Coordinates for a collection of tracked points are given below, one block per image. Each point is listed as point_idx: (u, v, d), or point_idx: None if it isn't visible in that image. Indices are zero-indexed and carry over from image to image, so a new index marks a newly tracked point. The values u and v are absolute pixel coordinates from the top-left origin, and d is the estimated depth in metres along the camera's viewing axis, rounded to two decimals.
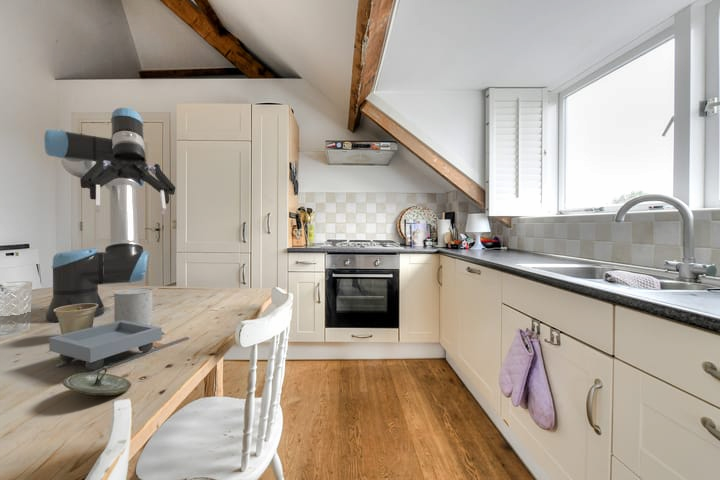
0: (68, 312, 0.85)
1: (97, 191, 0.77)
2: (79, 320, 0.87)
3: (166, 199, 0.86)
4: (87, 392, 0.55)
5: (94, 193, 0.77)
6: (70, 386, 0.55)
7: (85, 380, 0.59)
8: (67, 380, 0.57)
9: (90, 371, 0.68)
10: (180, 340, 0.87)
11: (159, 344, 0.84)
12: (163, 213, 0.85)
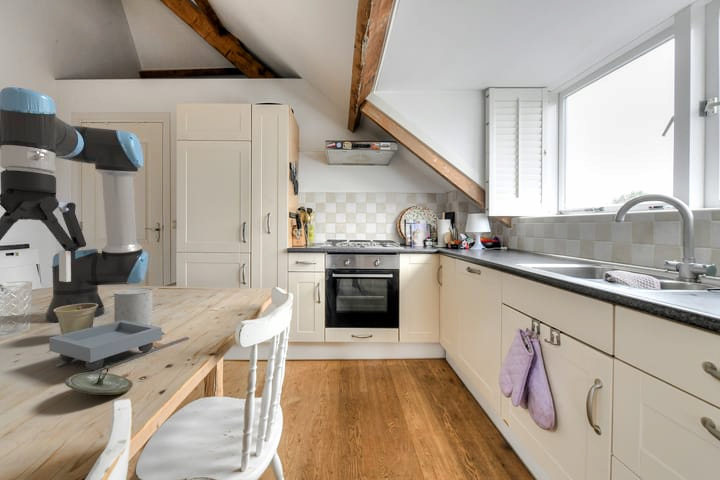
0: (68, 312, 0.85)
1: None
2: (79, 320, 0.87)
3: (71, 263, 0.68)
4: (89, 392, 0.55)
5: None
6: (72, 386, 0.55)
7: (87, 380, 0.60)
8: (69, 380, 0.57)
9: (90, 371, 0.68)
10: (180, 340, 0.87)
11: (159, 344, 0.84)
12: (62, 280, 0.67)
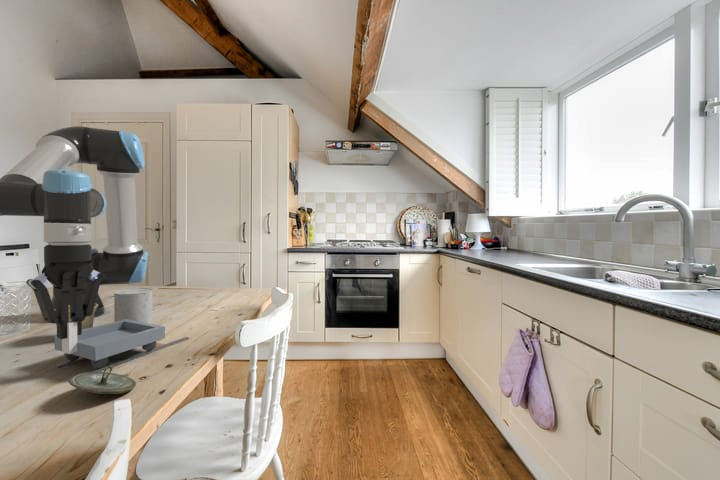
0: None
1: (70, 333, 0.67)
2: None
3: (78, 333, 0.69)
4: (94, 391, 0.55)
5: (65, 335, 0.67)
6: (76, 385, 0.55)
7: (91, 379, 0.60)
8: (73, 379, 0.57)
9: (90, 371, 0.68)
10: (180, 340, 0.87)
11: (159, 344, 0.84)
12: None
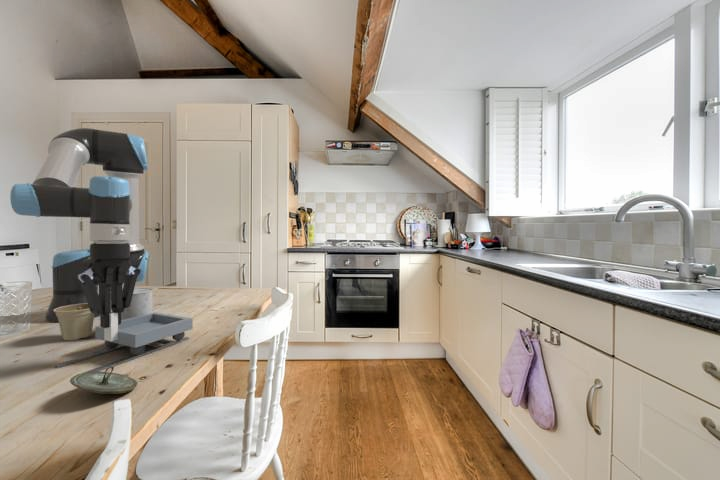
0: (68, 312, 0.85)
1: (112, 323, 0.75)
2: (79, 320, 0.87)
3: (118, 323, 0.77)
4: (95, 390, 0.55)
5: (108, 324, 0.74)
6: (78, 385, 0.55)
7: (92, 379, 0.60)
8: (74, 379, 0.57)
9: (90, 371, 0.68)
10: (180, 340, 0.87)
11: (159, 344, 0.84)
12: None
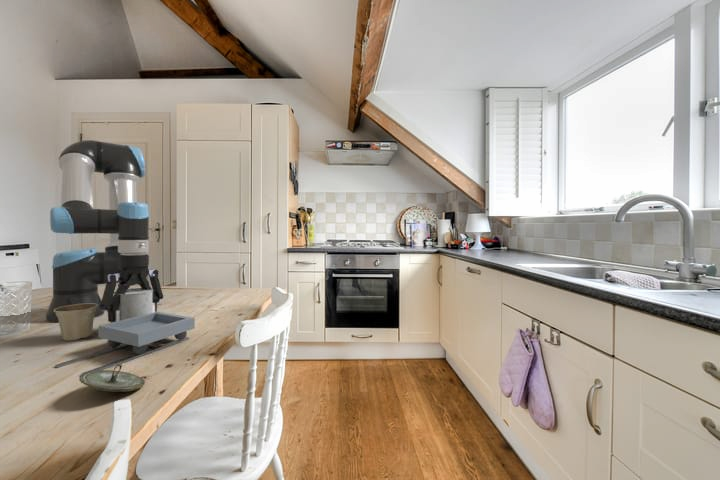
0: (68, 312, 0.85)
1: (118, 318, 0.90)
2: (79, 320, 0.87)
3: (154, 310, 1.00)
4: (105, 388, 0.56)
5: (114, 319, 0.89)
6: (88, 383, 0.56)
7: (100, 378, 0.61)
8: (84, 377, 0.58)
9: (90, 371, 0.68)
10: (180, 340, 0.87)
11: (159, 344, 0.84)
12: None
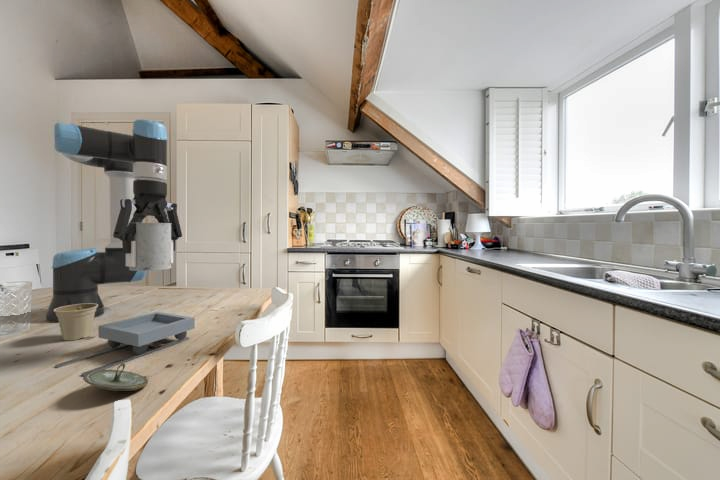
0: (68, 312, 0.85)
1: (133, 249, 0.79)
2: (79, 320, 0.87)
3: (173, 249, 0.89)
4: (109, 388, 0.56)
5: (129, 250, 0.79)
6: (92, 382, 0.56)
7: (104, 377, 0.61)
8: (87, 377, 0.58)
9: (90, 371, 0.68)
10: (180, 340, 0.87)
11: (159, 344, 0.84)
12: None
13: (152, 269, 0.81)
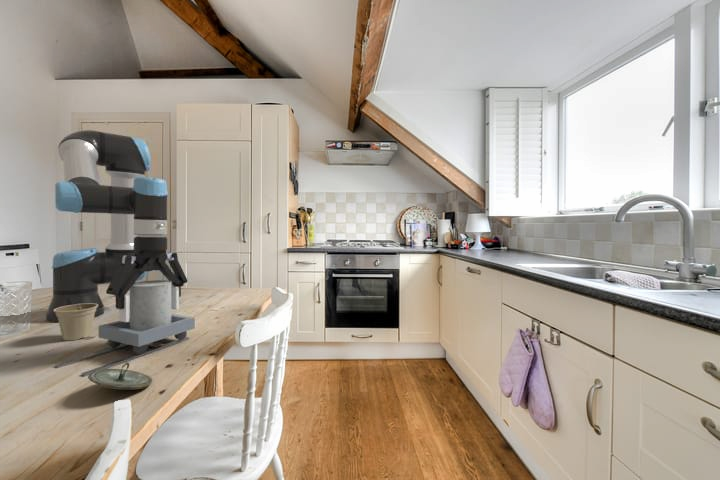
0: (68, 312, 0.85)
1: (127, 304, 0.78)
2: (79, 320, 0.87)
3: None
4: (114, 386, 0.57)
5: (123, 305, 0.77)
6: (97, 381, 0.57)
7: (108, 376, 0.61)
8: (92, 376, 0.58)
9: (90, 371, 0.68)
10: (180, 340, 0.87)
11: (159, 344, 0.84)
12: (172, 308, 0.91)
13: None
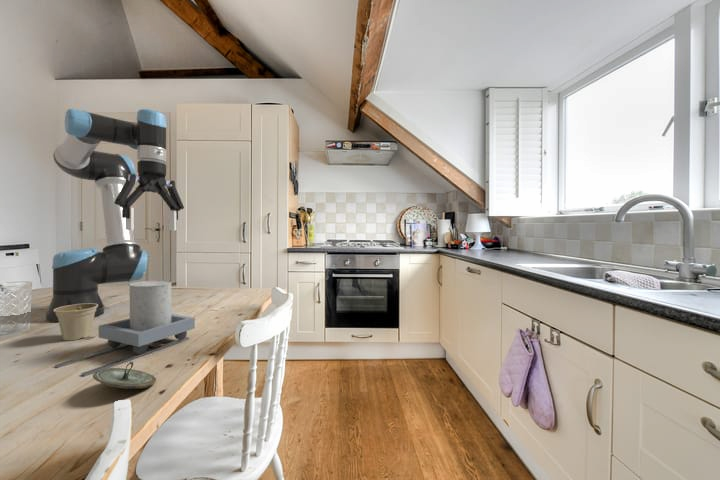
0: (68, 312, 0.85)
1: (132, 215, 0.91)
2: (79, 320, 0.87)
3: (176, 219, 1.05)
4: (119, 385, 0.57)
5: (128, 215, 0.91)
6: (102, 380, 0.57)
7: (113, 375, 0.62)
8: (97, 375, 0.59)
9: (90, 371, 0.68)
10: (180, 340, 0.87)
11: (159, 344, 0.84)
12: None
13: None
